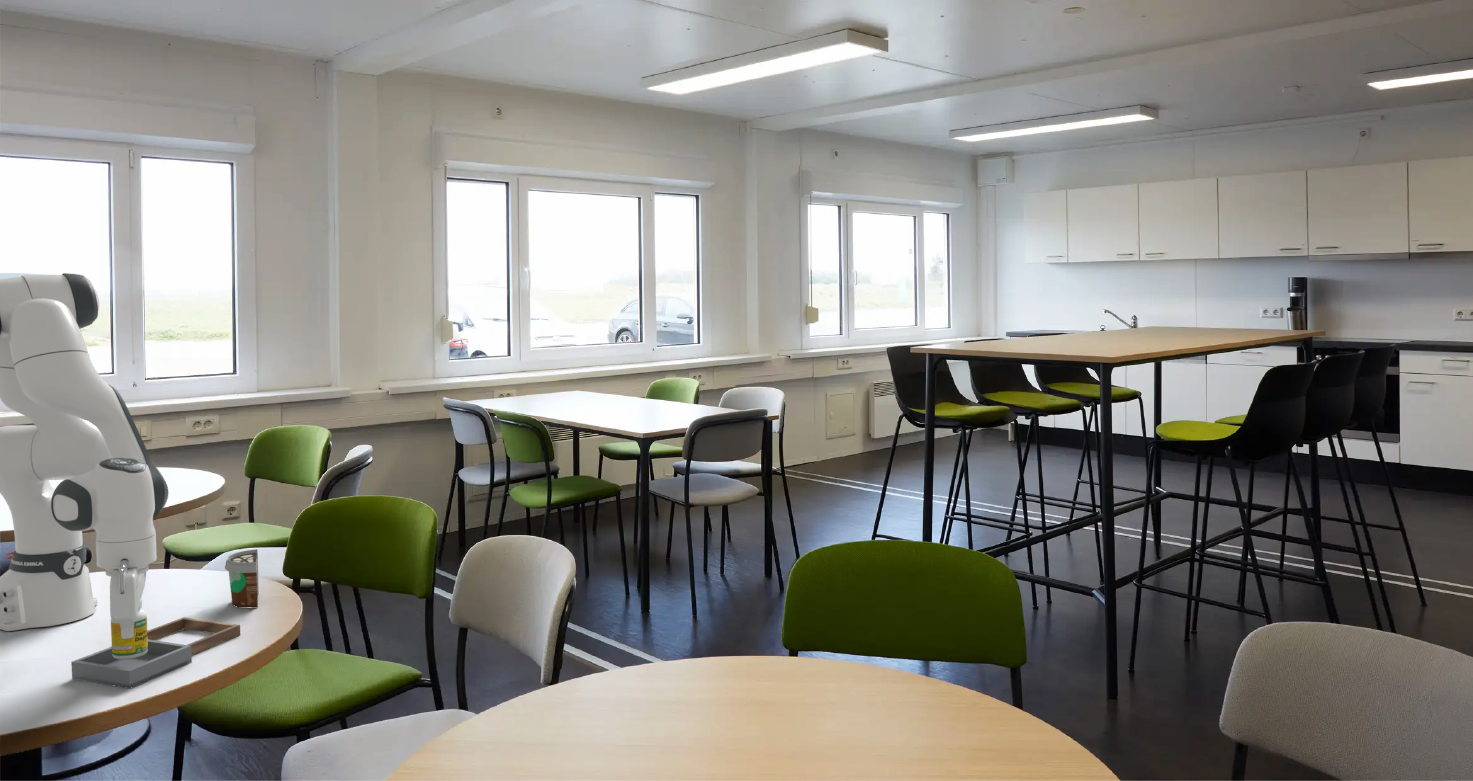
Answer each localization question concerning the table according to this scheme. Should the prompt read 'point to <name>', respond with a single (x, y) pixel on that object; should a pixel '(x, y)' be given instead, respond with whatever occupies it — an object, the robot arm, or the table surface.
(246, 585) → the food container
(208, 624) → the wooden square frame
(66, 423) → the robot arm
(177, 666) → the tray
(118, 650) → the supplement bottle
